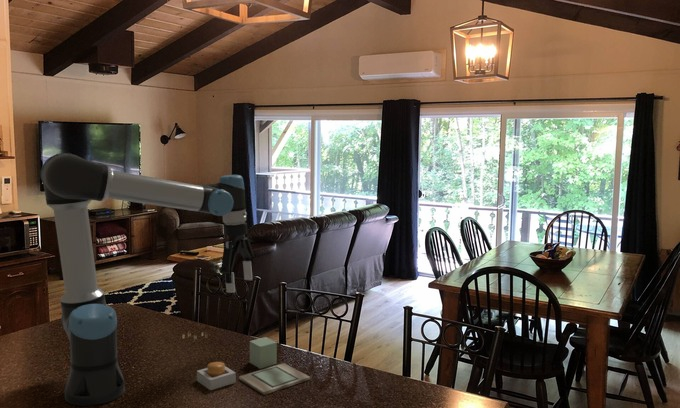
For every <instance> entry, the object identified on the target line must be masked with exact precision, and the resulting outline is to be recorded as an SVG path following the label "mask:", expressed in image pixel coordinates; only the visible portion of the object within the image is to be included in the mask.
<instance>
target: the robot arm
mask: <svg viewBox="0 0 680 408" xmlns="http://www.w3.org/2000/svg"><path fill="white" fill-rule="evenodd" d="M40 179H41V182H42V184H43V189H44V195H45V202H46V203H45V204H46V205H47V206H48V207H49V208H50V209H52V210H53V216H54V222H55V229H56V230H55V231H56V236H57V244H58V251H59V256H60V257H59V259H60V265H61V272H62V279H63V286H64V293H63V295H62V296H61V297H60V301H59V302H60V307H61V324H62V328H63V329H64V331H65V333H66V336H67V338H68V341H69V350H70V351H69V352H70V354H69V356H70V371H69V375H68V377H67V381H66V383H65V388H64V400H65V402H67V403H68V404H71V405H73V406H77V407H78V406H79V407H80V406H81V407H87V406H89V407H90V406H98V405H102V404H107V403H110V402H112V401H114V400H116V399H118V398H120V397H121V396H122V395H123V394H124V393H125V391H126V382H125V377H124V375H123V372H122V370H121V368H120V366H119V362H118V333H117V332H118V330H117V329H118V327H117V326H118V318H117V313H116V311H115V309H114V308H113V307H111V306H109V305H108V304H107V302H106V296H105V291H104V290H103V289H101V288H100V287H99V286H98V279H97V271H96V262H95V256H94V248H93V241H92V240H93V239H92V231H91V225H90V217H89V216H90V215H89V209H88V206H89V204H90V203H91V202H92V201H97V202H103V201H104V200H106V199H109V200H110V199H111V200H117V201H125V202H132V203H138V204H144V205H150V206H151V205H152V206H157V207H164V208H165V207H166V208H173V209H178V210H185V211H186V210H187V211H193V212H200V213H204V214H212V215H213V216H216V217H217V216H218V217H222V222H223V223H224V224H223V235H224V236H226V237H228V241H224V242H223V252H222V260H221V267H220V273H222V274H224V277H225V288H226V291H225V293H233V294H235V293H236V284H235V272H234V271H233V269H234V265H235V262H236V257H237V256H238V254H240V255H241V256H242V259H243V261H242V265H243V266H242V267H243V277H244V281H252V280H253V270H252V269H253V267H252V261H254V260H255V257H254V256H255V254H254V251H253V248H252V244H251V241H250V237H249V233H248V223H247V222H246V221H247V215H248V213H247V211H246V210H247V209H246V208H247V207H246V193H245V189H246V188H245V182H244V178H243V176H242V175H241V174H240V175H239V174H228V175H227V174H226V175H221V176H220V177H219V180H218V181H219V182H217V183H209V184H199V185H197V184H192V183H189V182H188V183H186V182H181V181H176V180H175V181H174V180H169V179H163V178H158V177H153V176H146V175H141V174H136V173H131V172H130V173H129V172H123V171H119V170H112V169H111V167H110V166H109V165H106V164H100V163H96V162H94V161H90V160H87V159H85V158H82V157H80V156H79V155H76V154H72V153H70V152H67V153H66V152H61V153H56V154H54V155H51V156H50V157H49V158H47V159H45V161H44V163H43V164H42V166H41V169H40Z"/></svg>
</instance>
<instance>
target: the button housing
mask: <svg viewBox="0 0 680 408" xmlns="http://www.w3.org/2000/svg"><path fill="white" fill-rule="evenodd" d="M236 374H237V373H236V372H235V371H234V370H232V369H230V368H229V367H227V366H226V365H225V374H223V375H219V376H216V377H211V376H209V375H208V367H205V368H202V369H199V370H196V382H198V383H200V385H202V386H203V387H205V388H206V389H208V390H210V391H213V390H217V389H219V388H223V387H225V386H229V385H232V384H236V382H237V381H236V380H237V379H236V378H237V375H236Z"/></svg>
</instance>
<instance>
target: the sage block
mask: <svg viewBox="0 0 680 408" xmlns="http://www.w3.org/2000/svg"><path fill="white" fill-rule="evenodd" d="M277 348H278V343H277V341H275V340H274V339H271V338H269V337H267V336H265V337H261V338H258V339H253V340H249V364H252V365H253V366H255V367H257V368H258V369H259V370H262V369H266V368H269V367H272V366H276V365H278V364H277V360H278V357H277V355H278V353H277V352H278V351H277V350H278V349H277Z"/></svg>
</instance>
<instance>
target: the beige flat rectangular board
mask: <svg viewBox="0 0 680 408" xmlns="http://www.w3.org/2000/svg"><path fill="white" fill-rule="evenodd" d="M238 380H239V381H241V382H243V383H244V384H246V385H247V386H248V387H251V388H252V389H254V390H255V391H257V392H258V393H260V394H261V395H263V396H265V395H268V394H271V393H274V392H277V391H280V390H283V389H286V388H290V387H291V386H295V385H298V384H302V383H304V382H307V381H310V380H311V376H309V375H307V374H306V373H303V372H302V371H300V370H297V369H296V368H294V367H292V366H290V365H289V364H287V363H285V362H283V363H280V364H275V365H271V366H268V367H265V368H261V369H259V370H256V371H253V372H252V371H251V372H249V373H246V374H242V375H240V376H239V377H238Z"/></svg>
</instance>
